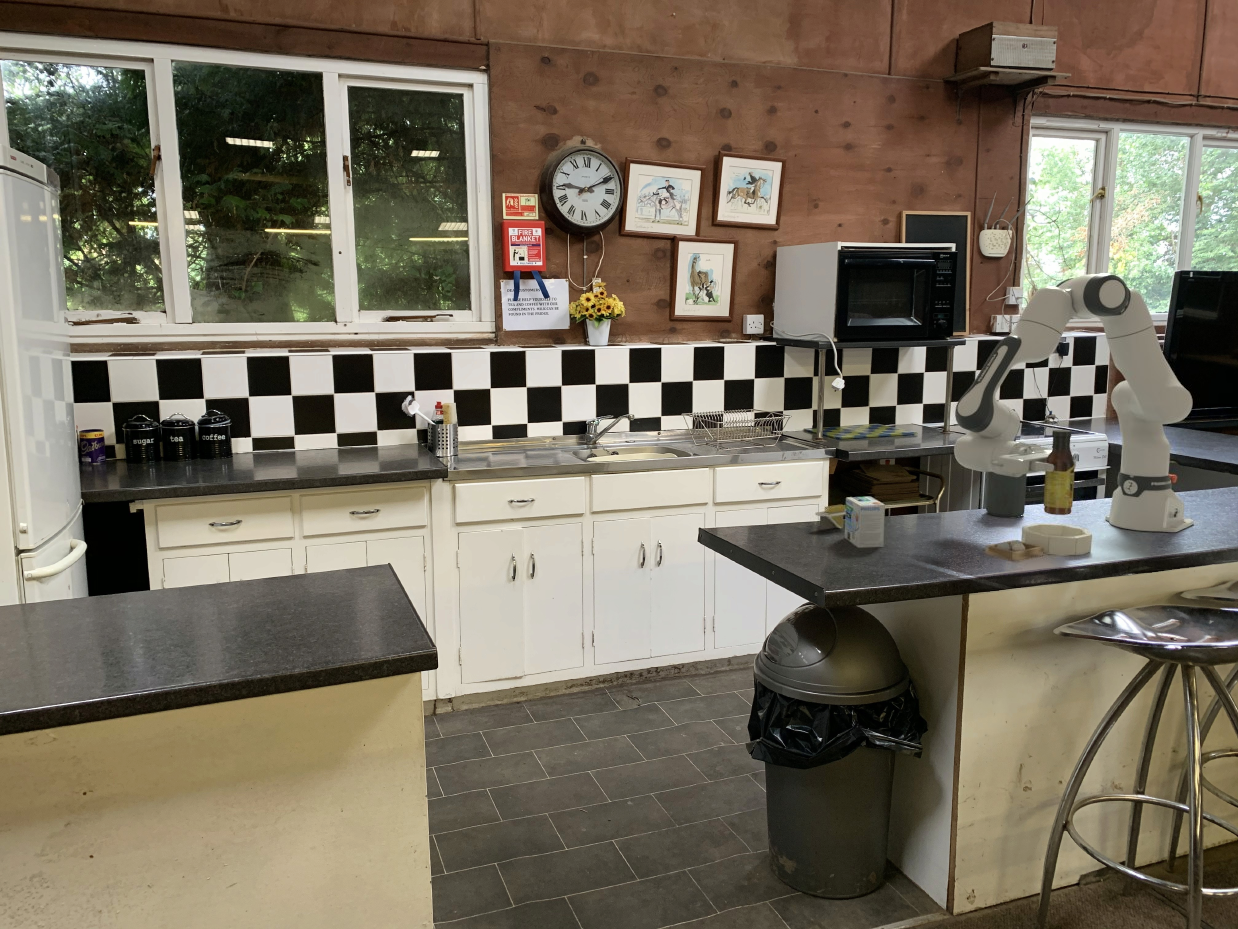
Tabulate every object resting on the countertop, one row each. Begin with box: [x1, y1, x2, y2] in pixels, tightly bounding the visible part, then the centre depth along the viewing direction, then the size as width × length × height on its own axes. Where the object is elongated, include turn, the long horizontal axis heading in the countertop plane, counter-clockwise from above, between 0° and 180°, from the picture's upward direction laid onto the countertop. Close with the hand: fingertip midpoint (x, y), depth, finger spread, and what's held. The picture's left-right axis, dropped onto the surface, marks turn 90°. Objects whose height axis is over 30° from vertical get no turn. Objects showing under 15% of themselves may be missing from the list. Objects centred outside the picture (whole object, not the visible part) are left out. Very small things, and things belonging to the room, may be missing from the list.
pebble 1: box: [997, 541, 1010, 551], centre depth 218 cm, size 3×3×3 cm
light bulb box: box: [844, 496, 886, 549], centre depth 234 cm, size 11×7×11 cm, turn 5°
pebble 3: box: [1012, 543, 1026, 552], centre depth 217 cm, size 3×3×3 cm
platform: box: [815, 504, 846, 531], centre depth 249 cm, size 12×18×7 cm, turn 119°
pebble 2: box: [1010, 539, 1023, 550], centre depth 220 cm, size 3×3×3 cm
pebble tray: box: [985, 539, 1044, 563], centre depth 218 cm, size 10×8×3 cm
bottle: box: [985, 408, 1028, 519], centre depth 263 cm, size 10×10×30 cm
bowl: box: [1020, 523, 1093, 556], centre depth 224 cm, size 14×14×5 cm
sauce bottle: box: [1043, 429, 1076, 516], centre depth 221 cm, size 6×6×20 cm
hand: (1064, 466), depth 220 cm, fingers closed on sauce bottle, 6 cm apart
